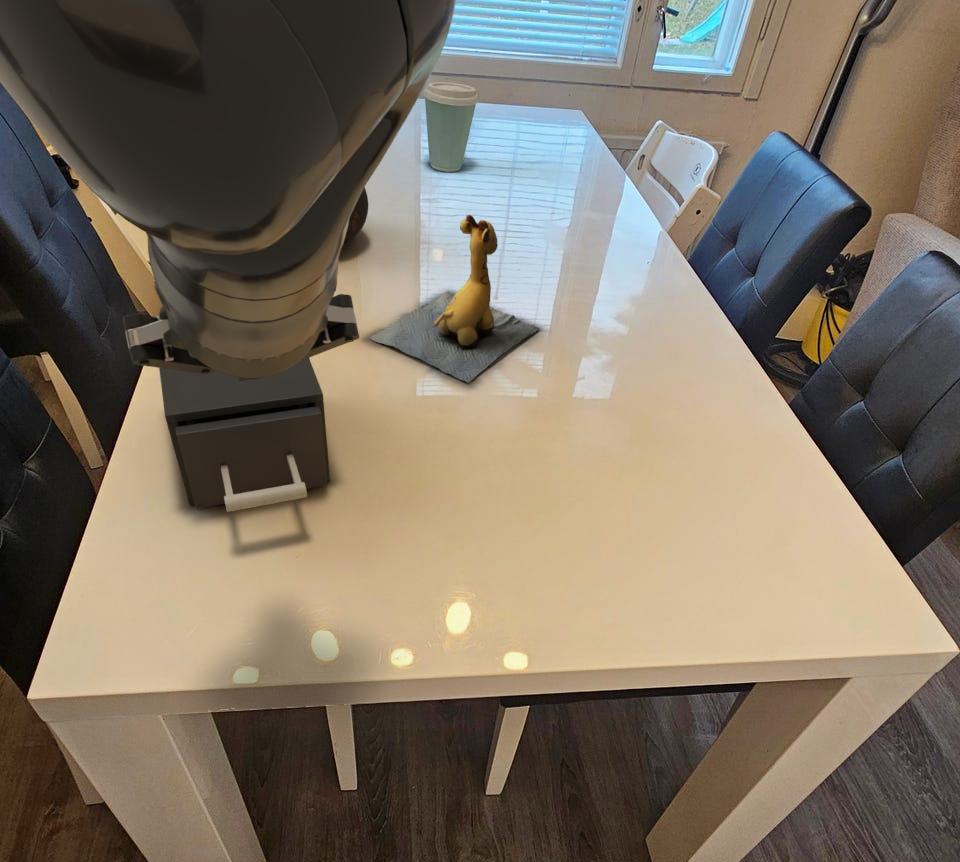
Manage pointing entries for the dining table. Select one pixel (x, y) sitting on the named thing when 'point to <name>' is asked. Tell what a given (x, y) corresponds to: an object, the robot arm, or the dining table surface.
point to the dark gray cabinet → (235, 399)
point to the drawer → (253, 456)
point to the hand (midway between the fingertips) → (246, 365)
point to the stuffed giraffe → (460, 319)
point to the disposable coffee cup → (448, 123)
